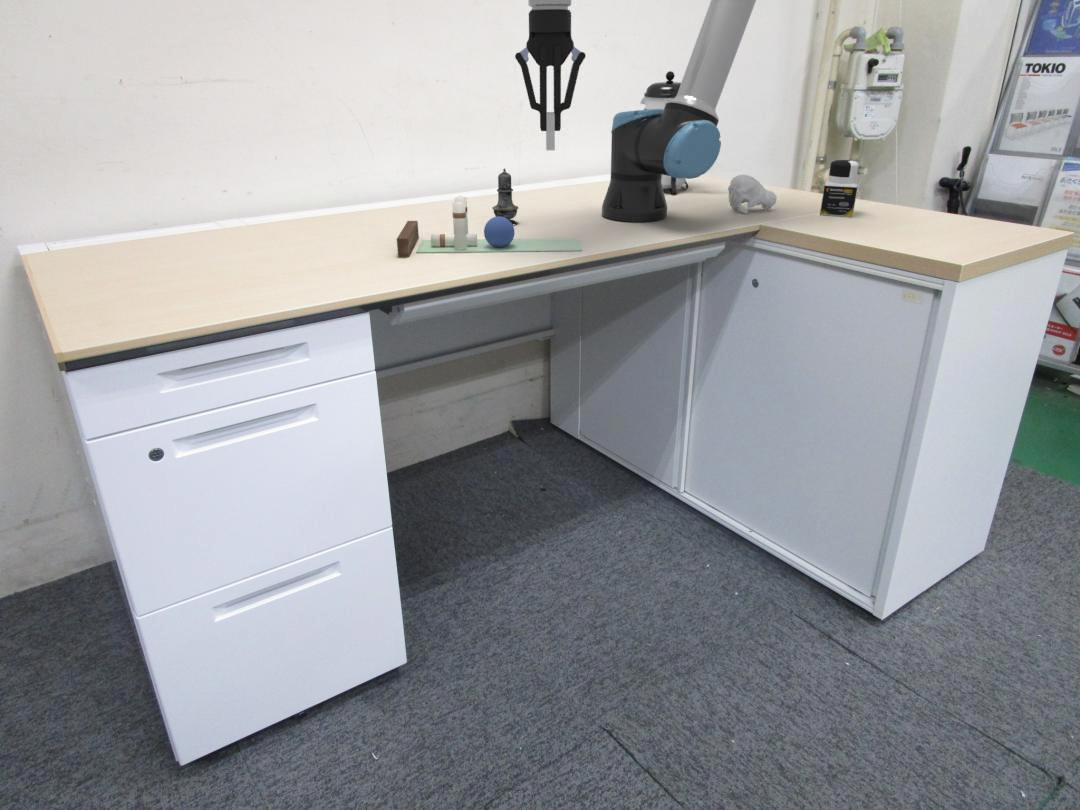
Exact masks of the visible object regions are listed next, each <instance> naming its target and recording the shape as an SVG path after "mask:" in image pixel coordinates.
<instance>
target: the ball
mask: <svg viewBox="0 0 1080 810" xmlns="http://www.w3.org/2000/svg"><path fill="white" fill-rule="evenodd" d="M483 236H484V239H486V240H487V242H488V243H489V244H490V245H492V246H493V247H497V248H501V247H505V246H507V245H509V244H510V243H511V242H512V240H513V239H515V228H514V225H512V223H511V222H510V221H509V220H508V219H507V218H504V217H500V216H498V217H496V216H494V217H492V218H489V220H488V221H487V222H486V223H485V225H484V227H483Z"/></svg>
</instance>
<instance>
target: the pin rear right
mask: <svg viewBox="0 0 1080 810" xmlns="http://www.w3.org/2000/svg"><path fill="white" fill-rule="evenodd" d="M467 199H468V198H467V197H466V196H456V197H455V196H454V202H465V212H466V234H469V227H468V226H469V225H468V224H469V222H468V201H467Z"/></svg>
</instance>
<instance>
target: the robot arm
mask: <svg viewBox="0 0 1080 810" xmlns="http://www.w3.org/2000/svg"><path fill="white" fill-rule="evenodd" d="M756 1H757V0H710V3H709V6H708V8H707V11H706V14H705V16H704V19H703V21H702V24H701V28H700V29H699V30H700V31H699V33H698V36H697V38H696V41H695V44H694V47H693V49H692V52H691V55H690V58H689V60H688V63H687V66H686V69H685V71H684V75H683V76H682V79H681V82H680V83H681V85H680V88H679V90H678V93H677V96H676V97H675V98H673V99H671V100H669V101H668V102H667V103H666V105H665V108H664V109H649V110H644V109H639V110H627V111H622V112H621V111H620V112H618V113H616V114H615V115H614V116H613V118H612V127H611V146H610V147H611V153H610V156H611V157H610V181H609V185H608V187H607V191H606V194H605V196H604V199H603V203H602V205H601V216H602V217H603V218H605V219H608V220H613V221H618V222H619V221H620V222H633V223H635V222H653V221H659V220H663V219H665V218H667V216H668V203H667V200H666V196H665V192H664V188H663V187H662V183H661V177H662V174H663V175H668V176H672V177H674V178H686V179H691V180H692V179H697V178H699V177H701V176H702V175H704V174H706V173H707V172H708V171H709V170H710V169H711V168H712V167H713V166H714V164H716V161H717V159H718V157H719V156H720V155H719V154H720V151H721V145H722V142H721V140H720V139H721V132H720V130H719V128H718V124H719V121H720V118H719V116H718V114H717V112H716V109H717V106H718V103H719V101H720V98H721V95H722V93H723V89H724V88H725V84H726V82H727V80H728V76H729V74H730V71H731V69H732V66H733V63H734V61H735V58H736V56H737V55H736V54H737V52H738V49H739V47H740V44H741V42H742V40H743V36H744V35H745V31H746V29H747V25H748V23H749V20H750V17H751V15H752V12H753V10H754V7H755V4H756ZM528 6H529V7H530V8H531V9H530V10H529V12H528V39H527V41H526V44H525V45H526V47H524V48H523V49H522V50H520V51H519V52H516V53H515V56H514V58H515V60H516V61H517V63H518V64H519V66H520V68H521V69H520V70H521V73H522V77H523V80H524V85H525V86H524V87H525V89H526V93H527V98H528V101H529V106H530V108H531V110H535V111H537V112H538V113H539V122H540V123H539V128H540V131H541V132H545V139H546V140H545V143H546V144H545V145H546V147H545V148H546V151H555V146H556V145H555V142H556V141H555V139H556V138H555V135H556V134H555V133H556V132H560V131H561V127H562V125H561V123H562V118H561V116H562V112H564V111H565V110H568V109H570V108H571V106H572V101H573V98H574V97H573V96H574V92H575V89H576V84H577V81H578V80H577V78H578V76H579V71H580V66H581V65H582V64H583V62H584V61H585V58H586V55H587V54H586V52H583V51H580V49H578V48H576V46H575V43H574V40H573V38H572V11H571V10H570V9H568V8H569V7H570V6H572V0H528ZM529 54H530V56H532V58H533V61H535V63H536V64H537V65H538V66H539V102H537V100H536V95H535V91H534V87H533V83H532V79H531V75H530V70H529V66H528V64H527V63H528V62H529V59H530V57H529ZM570 54H571V61H573V63H572V66H571V69H570V72H569V73H570V74H569V77H568V82H567V87H566V90H565V91H566V92H565V95H564V99H563V102H562V65H564V63H565V62H566V60H567V59H568V57H569V55H570ZM548 67H553V111H549V112H548V105H547V103H548V101H547V100H548V94H547V93H548V88H547V87H548V84H547V82H548V80H547V79H548V73H547V72H548V69H547V68H548Z"/></svg>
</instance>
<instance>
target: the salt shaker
mask: <svg viewBox="0 0 1080 810" xmlns="http://www.w3.org/2000/svg"><path fill="white" fill-rule="evenodd" d="M502 171H503V172H501V173H499V174H498V176H497V180H498V183H497V185H498V186H497V187H498V189H496V191H497V193H498V194H497V195H498V199H497V204H496V205H494V206H492V208H491V209H492V211H493V214H494V217H498V216H500V217H504V218H507V219H508V220H509V221H510V222H511V223H512V225H513V224H516V223H517V224H518V221H516V220H514V218H515V217H516V216H517V214H518V210H519V206H518V205H516V204H514V201H513V191H514V189H513V188H512V175H511V174H510V173H508V172H507V170H506V168H503V169H502ZM517 224H516V225H517ZM513 226H514V225H513Z"/></svg>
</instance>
